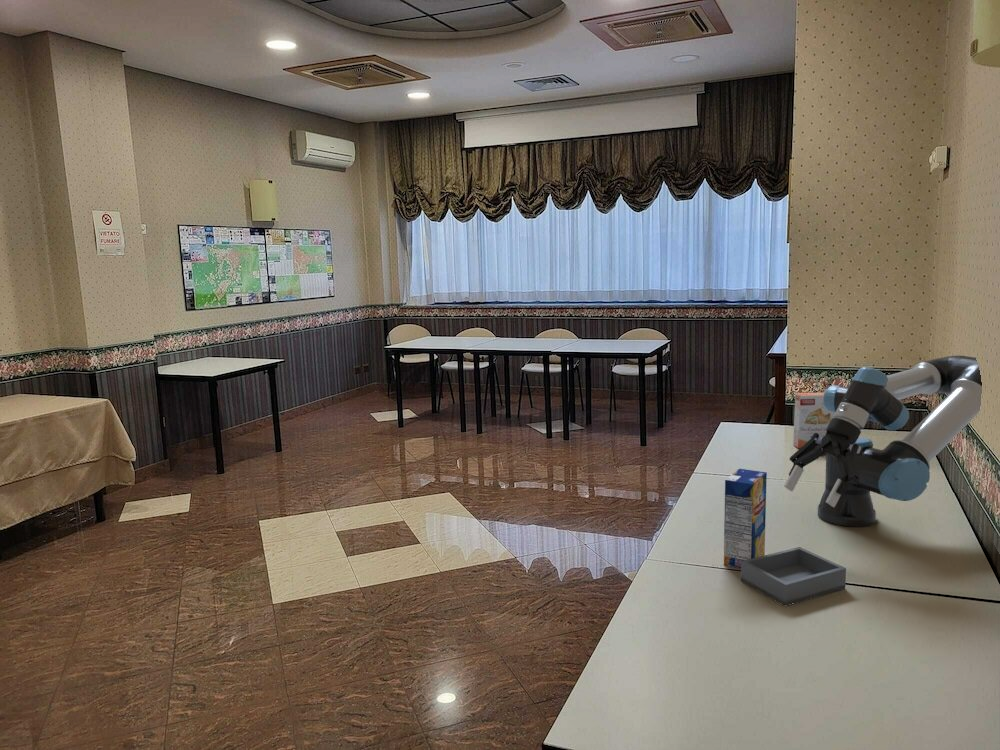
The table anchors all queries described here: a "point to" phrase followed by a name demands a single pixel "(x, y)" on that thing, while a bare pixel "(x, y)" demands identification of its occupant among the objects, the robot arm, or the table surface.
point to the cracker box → (810, 417)
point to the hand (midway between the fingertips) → (808, 496)
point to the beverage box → (744, 516)
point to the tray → (793, 575)
